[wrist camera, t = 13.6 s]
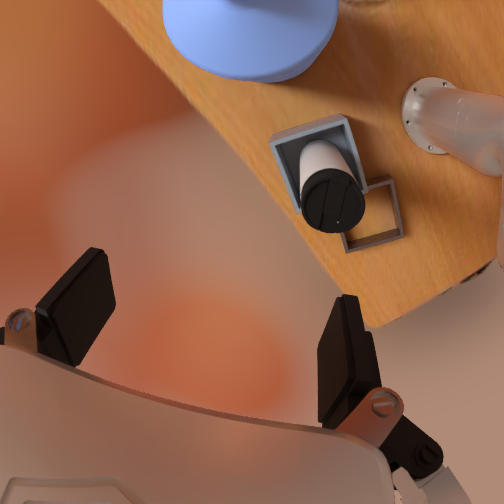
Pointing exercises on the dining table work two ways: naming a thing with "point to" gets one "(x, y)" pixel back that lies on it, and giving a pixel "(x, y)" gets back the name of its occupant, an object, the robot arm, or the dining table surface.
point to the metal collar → (382, 236)
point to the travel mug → (328, 189)
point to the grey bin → (294, 139)
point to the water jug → (251, 35)
